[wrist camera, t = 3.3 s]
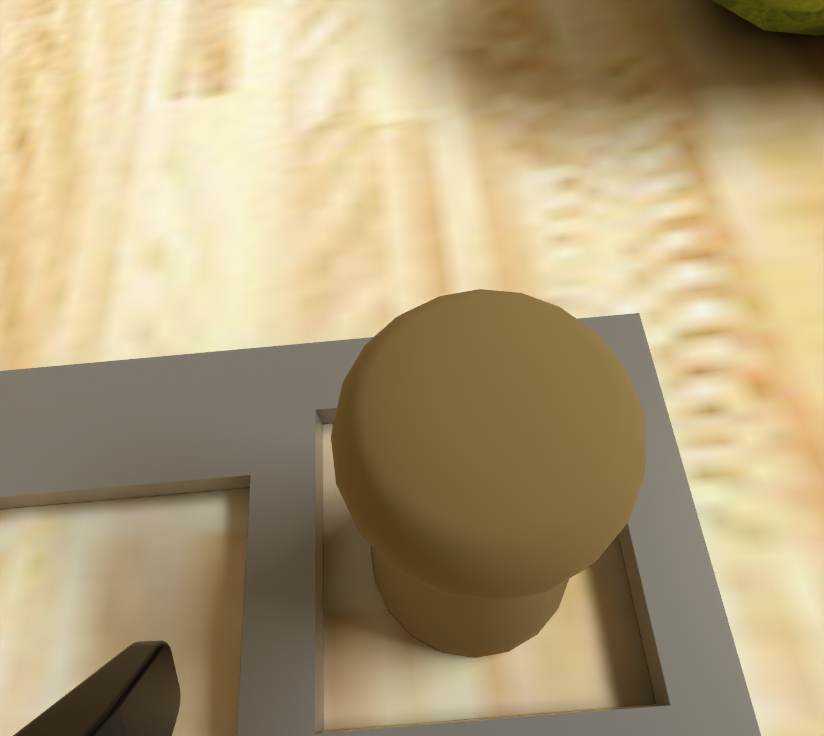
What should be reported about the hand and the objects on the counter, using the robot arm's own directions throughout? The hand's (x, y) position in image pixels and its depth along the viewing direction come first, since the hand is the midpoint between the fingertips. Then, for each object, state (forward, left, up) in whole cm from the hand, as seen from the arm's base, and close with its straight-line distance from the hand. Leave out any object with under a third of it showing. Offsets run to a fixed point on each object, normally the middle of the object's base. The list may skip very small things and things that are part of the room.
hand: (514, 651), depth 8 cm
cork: (+3, 0, -11) cm, 11 cm away
